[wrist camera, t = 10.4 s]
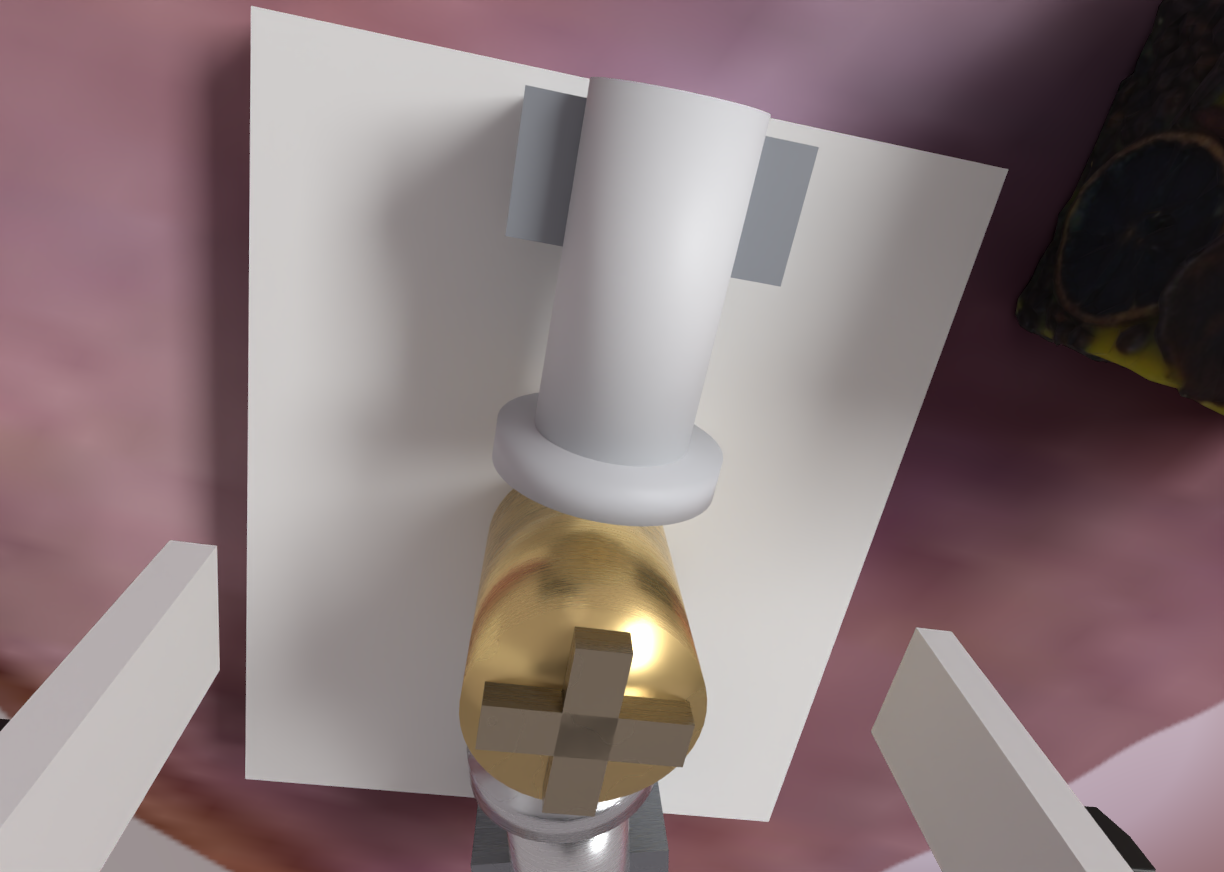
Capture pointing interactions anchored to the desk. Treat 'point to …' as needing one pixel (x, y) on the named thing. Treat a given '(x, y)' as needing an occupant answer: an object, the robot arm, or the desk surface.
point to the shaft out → (565, 832)
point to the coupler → (578, 659)
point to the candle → (1149, 220)
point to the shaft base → (474, 339)
